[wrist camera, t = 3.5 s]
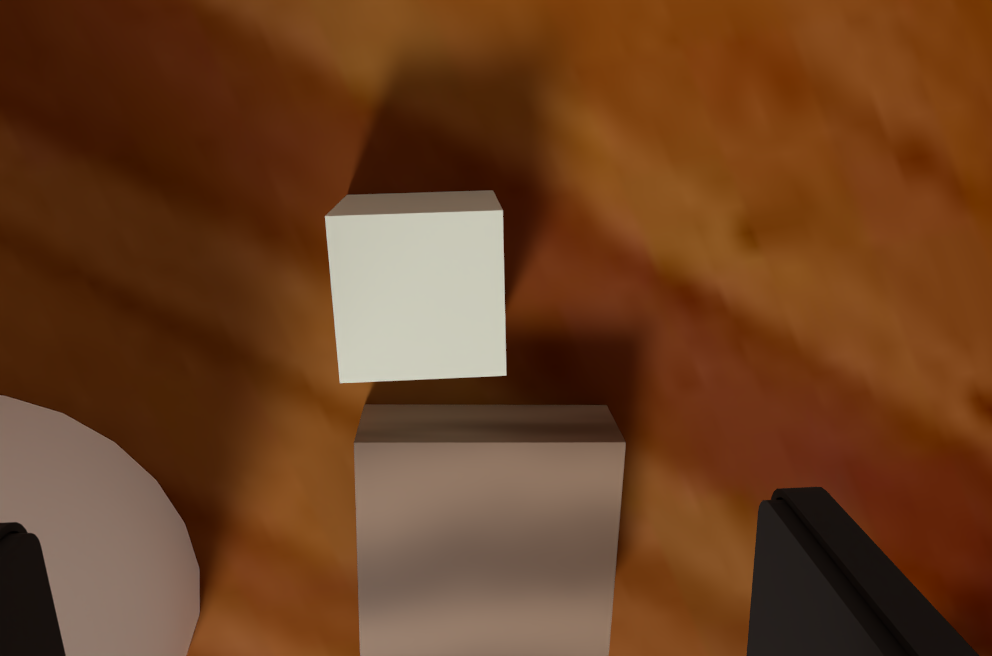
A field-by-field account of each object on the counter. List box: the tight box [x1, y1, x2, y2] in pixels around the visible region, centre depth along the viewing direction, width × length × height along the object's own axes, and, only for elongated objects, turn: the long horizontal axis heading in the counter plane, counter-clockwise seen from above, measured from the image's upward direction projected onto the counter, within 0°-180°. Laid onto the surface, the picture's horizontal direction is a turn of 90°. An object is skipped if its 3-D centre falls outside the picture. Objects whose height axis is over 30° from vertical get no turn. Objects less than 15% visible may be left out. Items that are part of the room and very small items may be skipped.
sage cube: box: [325, 190, 507, 383], centre depth 27 cm, size 6×6×6 cm
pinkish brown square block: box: [354, 404, 626, 656], centre depth 31 cm, size 10×10×4 cm
